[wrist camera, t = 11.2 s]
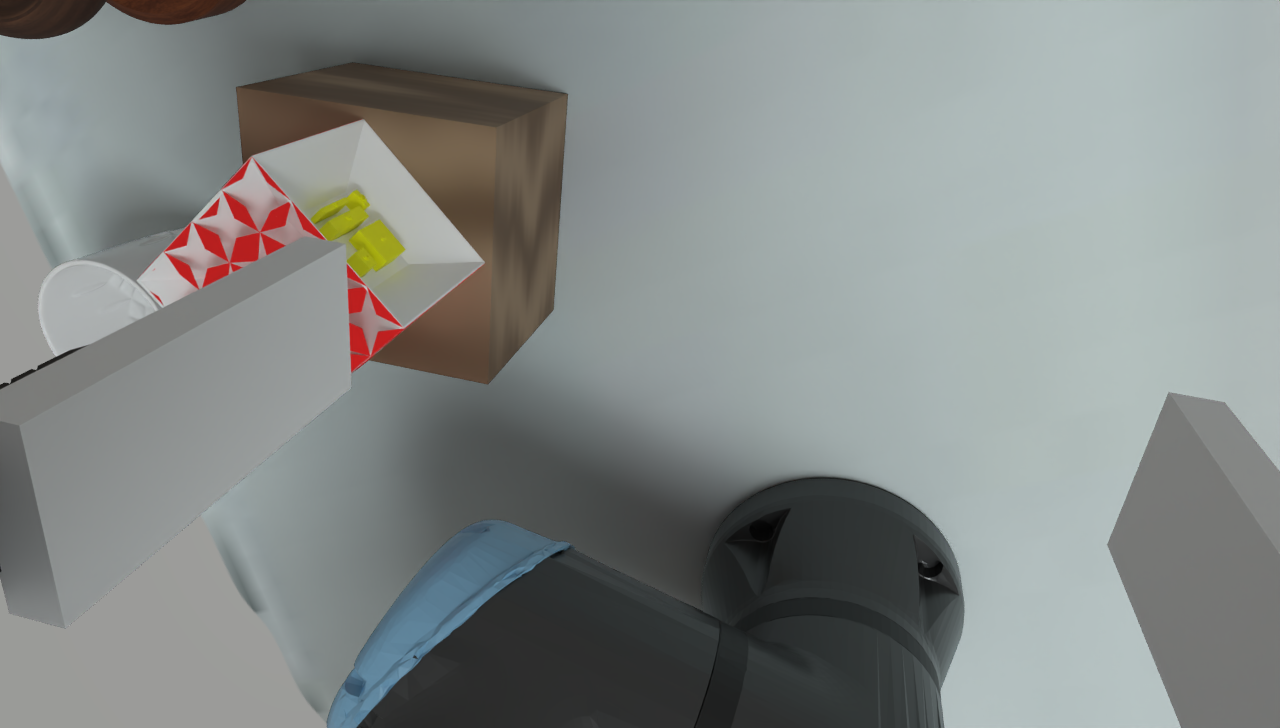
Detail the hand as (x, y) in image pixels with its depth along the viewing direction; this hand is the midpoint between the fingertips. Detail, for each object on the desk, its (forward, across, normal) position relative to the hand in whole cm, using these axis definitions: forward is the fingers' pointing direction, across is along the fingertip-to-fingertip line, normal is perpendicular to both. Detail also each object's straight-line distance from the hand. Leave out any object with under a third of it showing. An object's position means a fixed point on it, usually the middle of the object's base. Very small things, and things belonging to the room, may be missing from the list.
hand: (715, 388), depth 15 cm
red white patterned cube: (+23, +18, +8) cm, 30 cm away
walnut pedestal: (+33, +18, +8) cm, 38 cm away
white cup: (+33, +34, +15) cm, 49 cm away
